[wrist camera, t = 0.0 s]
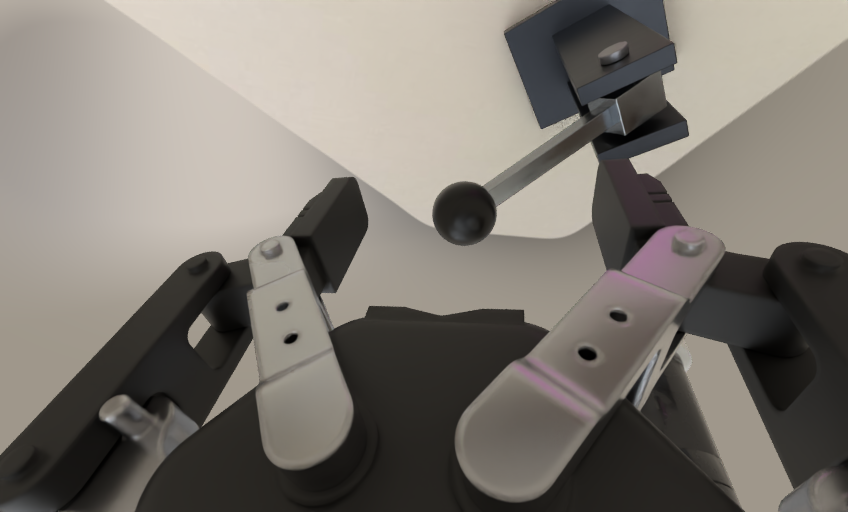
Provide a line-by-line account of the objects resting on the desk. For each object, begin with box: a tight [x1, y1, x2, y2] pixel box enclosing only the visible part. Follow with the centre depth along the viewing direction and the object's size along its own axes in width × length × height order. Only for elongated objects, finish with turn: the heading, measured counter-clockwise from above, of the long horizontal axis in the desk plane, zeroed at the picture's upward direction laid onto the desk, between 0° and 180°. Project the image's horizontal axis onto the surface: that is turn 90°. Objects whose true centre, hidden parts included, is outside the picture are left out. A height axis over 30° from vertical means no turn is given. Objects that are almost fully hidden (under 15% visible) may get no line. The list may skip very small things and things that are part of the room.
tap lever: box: [432, 71, 667, 246], centre depth 20 cm, size 14×4×4 cm, turn 120°
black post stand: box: [504, 0, 689, 163], centre depth 25 cm, size 11×9×16 cm
